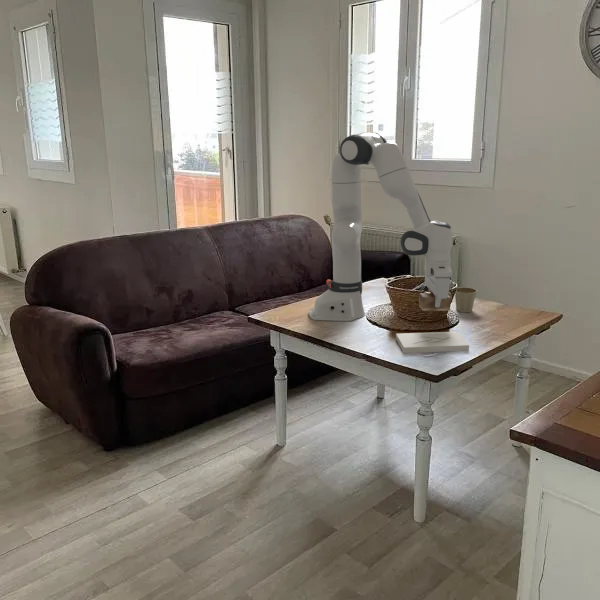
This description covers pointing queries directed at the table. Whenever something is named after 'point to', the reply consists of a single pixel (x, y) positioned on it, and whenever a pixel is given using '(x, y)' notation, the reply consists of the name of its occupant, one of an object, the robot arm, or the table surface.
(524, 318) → the table surface
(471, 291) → the flower pot
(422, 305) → the block
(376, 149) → the robot arm
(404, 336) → the marked board
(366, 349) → the table surface
